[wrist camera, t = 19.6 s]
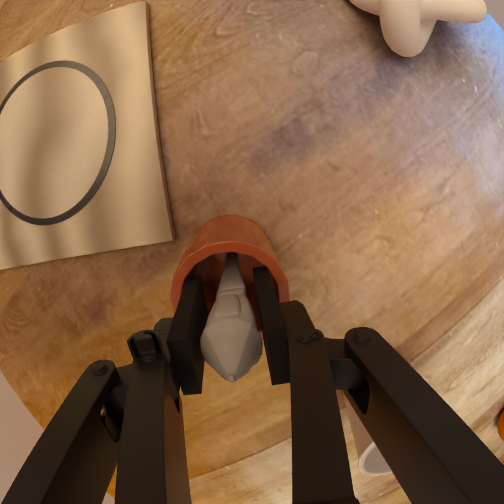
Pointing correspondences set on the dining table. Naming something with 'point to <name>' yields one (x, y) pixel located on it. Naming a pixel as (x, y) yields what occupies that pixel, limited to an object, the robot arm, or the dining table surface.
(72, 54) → the drawing board
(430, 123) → the dining table surface
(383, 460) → the dixie cup
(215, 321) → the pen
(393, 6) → the beige decorative knot
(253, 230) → the pen pot
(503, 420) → the fruit
